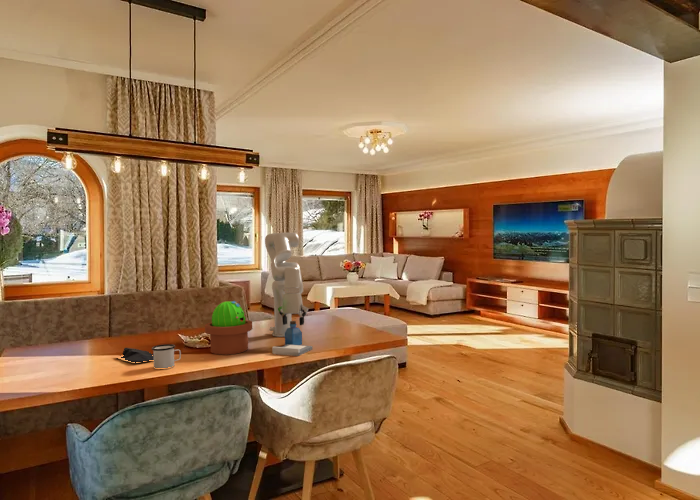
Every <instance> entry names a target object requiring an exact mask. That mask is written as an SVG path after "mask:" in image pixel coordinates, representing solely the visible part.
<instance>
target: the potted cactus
mask: <svg viewBox="0 0 700 500" xmlns="http://www.w3.org/2000/svg"><path fill="white" fill-rule="evenodd" d="M246 317H247V316H246V314H245V311H244V308H243V307H242V306H241V304H240V303H237V301H236V300H233V301H231V300H229V301H222V302H221V303H219V304H218V305H217V306H216V307H215V308H214V309H213V312H212V314H211V322H208V323H205V325H204V333H205V334H207V335H209V336H210V353H212V354H214V355H221V354H222V355H223V356H224V355H226V356H228V355H236V354H241V353H243V352H247V350H248V349H249V334H248V332H251V331H252V330H253V321H252V320H248V319H246Z"/></svg>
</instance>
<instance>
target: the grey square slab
mask: <svg viewBox="0 0 700 500" xmlns="http://www.w3.org/2000/svg"><path fill="white" fill-rule="evenodd" d="M271 350H272V352H271V353H272V354H273V355H283V356H295V357H299V356H302V355H304V354H306V353H307V352H310V351H311V350H313V346H312V345H304V344H302V345H291V344H287V345H285V344H284V345H283V346H272V349H271Z"/></svg>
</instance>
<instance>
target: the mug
mask: <svg viewBox="0 0 700 500" xmlns="http://www.w3.org/2000/svg"><path fill="white" fill-rule="evenodd" d="M175 348H176V345H175V344H171V343H167V344H166V343H164V344H159V345H154V346H152V347H151V350H152V352H153V353H152V354H153V359H154V361H153V368H154V367H155V368H168V367H172V366H174V367H175V362H177V361H180V360H181V355H182V352H181V350H180V349H175ZM177 351H178V352H179V353H178V354H179V358H177V359H175V352H177ZM172 368H173V367H172Z"/></svg>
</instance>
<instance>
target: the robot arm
mask: <svg viewBox="0 0 700 500" xmlns="http://www.w3.org/2000/svg"><path fill="white" fill-rule="evenodd" d="M264 244H265V249H266V252H267V254H268V256H269V258H270V270H271V277H272V279H273V282H272V284H271V289H272V297H273V306H274V307H273V310H274V326H269V330H268V331H271V334H272V336H273V337H278V338H279V337H280V338H281V337H282V338H283V337H284V338H285V332H286V330H287V328H290V321H293V320H292V315H296V314H297V315H298V316H299V320H298V321H299V326H304V324H305V317H306V315H307V313H308V312H309V307H307V306H305V305H304V303H303V297H302V293H303V292H304V284H303V276H302V271H301V267H300V264H299V263H298V262H296V261H287V260H289V259H290V258H291V257H292V256H293V255H292V254H293V252H292V248H297V247H299V245H300V237H299V234H298V233H296V232H294V231H293V232H292V231H291V232H290V231H289V232H273V233H269V234H267V235H266V236H265V238H264Z"/></svg>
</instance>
